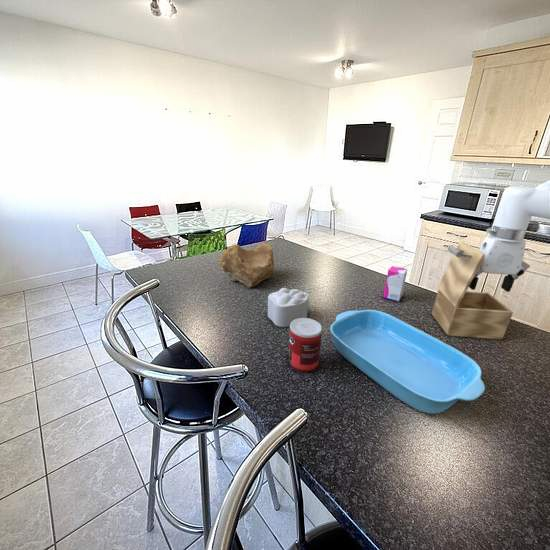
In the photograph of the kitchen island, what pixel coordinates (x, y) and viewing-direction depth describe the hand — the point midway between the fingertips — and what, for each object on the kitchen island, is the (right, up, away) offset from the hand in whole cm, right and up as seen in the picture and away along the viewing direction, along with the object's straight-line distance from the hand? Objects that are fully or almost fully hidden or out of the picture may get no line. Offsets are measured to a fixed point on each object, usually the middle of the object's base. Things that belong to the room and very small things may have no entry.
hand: (487, 288), depth 87 cm
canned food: (-57, -19, -12) cm, 61 cm away
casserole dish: (-34, -20, -13) cm, 41 cm away
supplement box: (-20, -4, +23) cm, 30 cm away
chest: (-3, -12, +6) cm, 14 cm away
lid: (-9, +5, -1) cm, 10 cm away
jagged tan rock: (-74, +1, +33) cm, 81 cm away
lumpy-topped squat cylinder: (-59, -10, +9) cm, 61 cm away
